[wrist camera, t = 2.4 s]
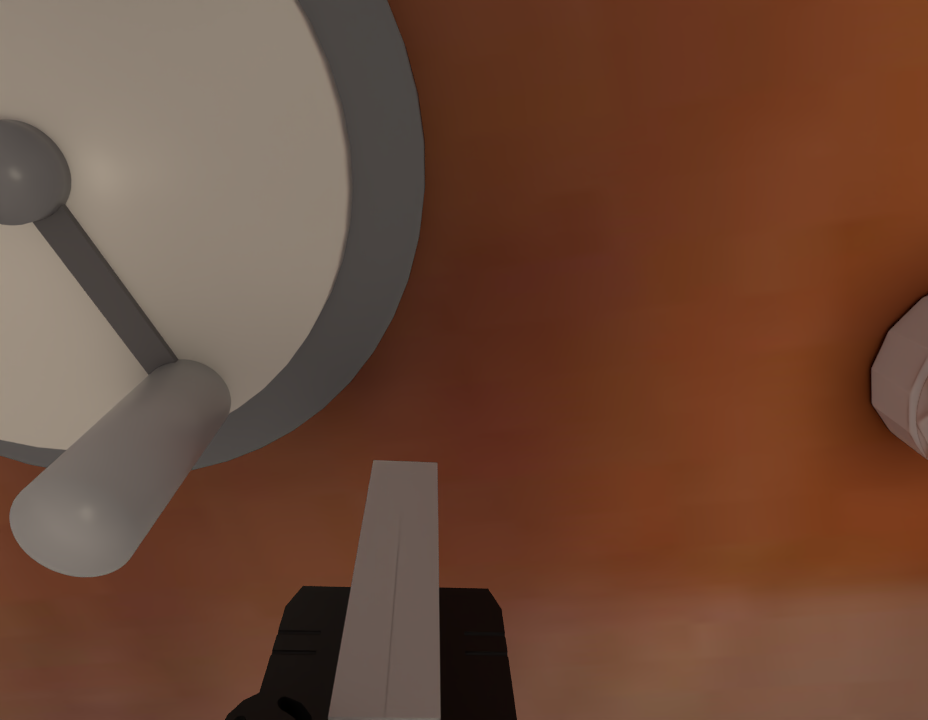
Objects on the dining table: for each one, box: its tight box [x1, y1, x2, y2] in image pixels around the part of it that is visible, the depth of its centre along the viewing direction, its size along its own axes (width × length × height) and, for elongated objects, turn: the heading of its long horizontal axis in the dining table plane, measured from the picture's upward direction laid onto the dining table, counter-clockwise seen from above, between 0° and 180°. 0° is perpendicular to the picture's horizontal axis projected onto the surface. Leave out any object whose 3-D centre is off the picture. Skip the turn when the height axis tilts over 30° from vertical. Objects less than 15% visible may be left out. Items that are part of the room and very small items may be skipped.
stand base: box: [0, 0, 425, 470], centre depth 17 cm, size 20×20×2 cm
